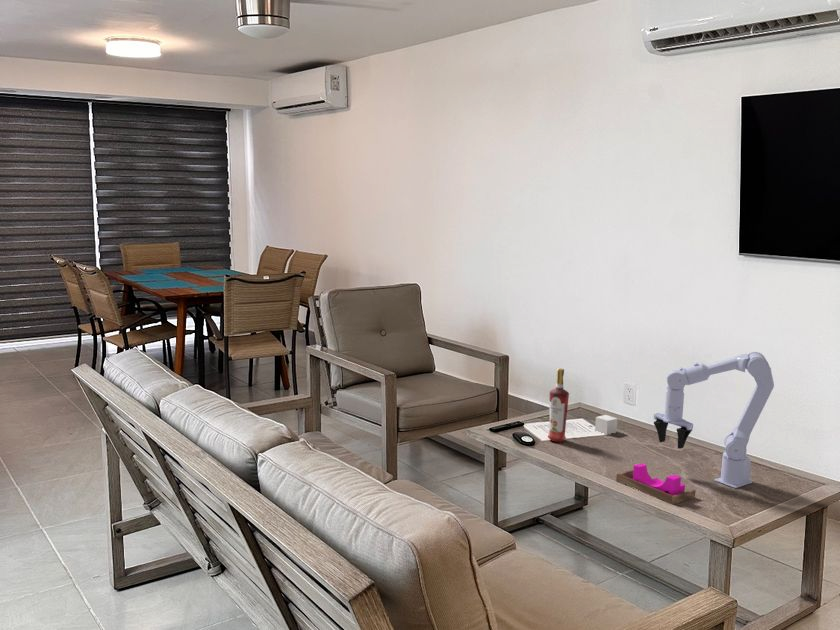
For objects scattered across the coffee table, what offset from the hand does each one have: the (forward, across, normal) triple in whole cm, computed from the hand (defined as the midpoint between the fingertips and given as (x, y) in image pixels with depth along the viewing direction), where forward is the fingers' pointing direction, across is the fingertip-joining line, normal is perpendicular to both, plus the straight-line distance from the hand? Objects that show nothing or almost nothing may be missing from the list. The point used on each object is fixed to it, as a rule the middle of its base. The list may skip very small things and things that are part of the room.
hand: (671, 444), depth 259 cm
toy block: (+11, +9, -16) cm, 22 cm away
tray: (+10, +6, -15) cm, 20 cm away
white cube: (+11, -44, +17) cm, 48 cm away
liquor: (+11, -46, -8) cm, 48 cm away
